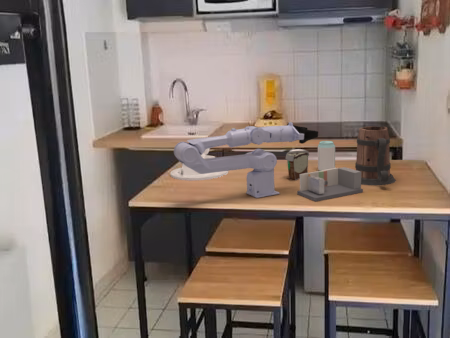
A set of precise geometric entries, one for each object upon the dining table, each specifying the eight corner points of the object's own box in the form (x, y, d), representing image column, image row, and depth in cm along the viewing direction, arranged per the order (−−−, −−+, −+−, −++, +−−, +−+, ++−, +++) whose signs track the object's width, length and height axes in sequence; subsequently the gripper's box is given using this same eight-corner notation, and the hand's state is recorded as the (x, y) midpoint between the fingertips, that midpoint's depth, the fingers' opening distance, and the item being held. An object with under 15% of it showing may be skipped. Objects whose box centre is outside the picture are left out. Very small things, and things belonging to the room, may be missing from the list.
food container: (296, 173, 210) (295, 149, 208) (309, 174, 207) (309, 150, 204) (279, 179, 201) (279, 154, 199) (293, 181, 197) (292, 156, 195)
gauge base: (315, 201, 170) (315, 180, 168) (297, 194, 180) (296, 174, 178) (362, 192, 178) (363, 172, 176) (342, 185, 188) (343, 166, 186)
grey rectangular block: (319, 194, 172) (319, 178, 171) (306, 189, 179) (306, 174, 178) (332, 191, 175) (332, 176, 173) (319, 187, 181) (319, 172, 180)
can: (316, 171, 211) (316, 143, 208) (319, 168, 217) (319, 140, 214) (333, 172, 208) (333, 143, 206) (336, 168, 215) (336, 140, 212)
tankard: (345, 175, 202) (345, 125, 198) (387, 173, 202) (388, 123, 198) (360, 191, 179) (361, 135, 175) (408, 189, 179) (410, 132, 175)
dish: (201, 165, 236) (200, 141, 233) (240, 172, 218) (239, 146, 215) (158, 175, 219) (156, 150, 216) (197, 184, 201) (195, 156, 199)
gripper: (288, 126, 172) (323, 124, 177) (270, 119, 185) (303, 118, 190) (287, 146, 174) (321, 144, 178) (269, 138, 187) (301, 137, 192)
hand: (312, 132), depth 184 cm, fingers open, 7 cm apart
